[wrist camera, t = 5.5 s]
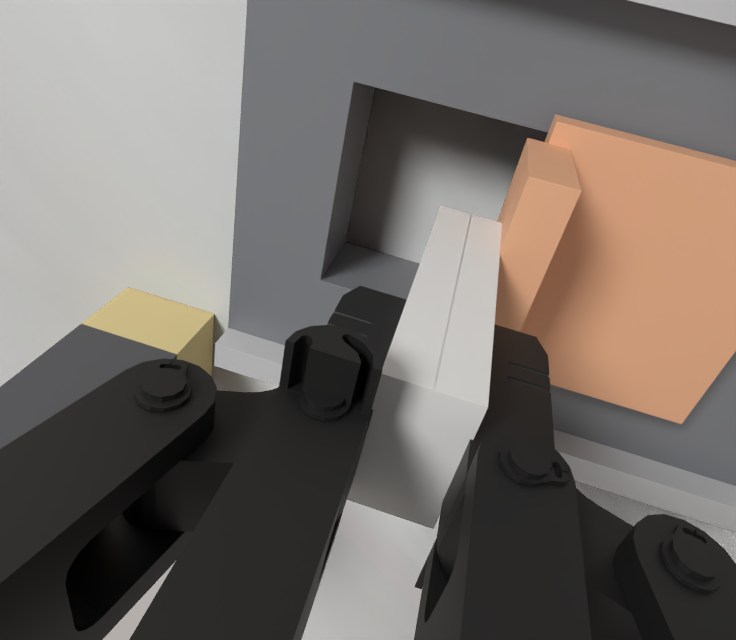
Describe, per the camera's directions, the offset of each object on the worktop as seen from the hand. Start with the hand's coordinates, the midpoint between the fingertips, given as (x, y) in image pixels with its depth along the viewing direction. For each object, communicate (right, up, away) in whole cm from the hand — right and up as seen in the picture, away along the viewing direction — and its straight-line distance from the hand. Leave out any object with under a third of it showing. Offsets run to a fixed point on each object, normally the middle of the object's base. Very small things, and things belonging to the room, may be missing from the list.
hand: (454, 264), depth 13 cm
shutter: (+5, 0, +1) cm, 5 cm away
